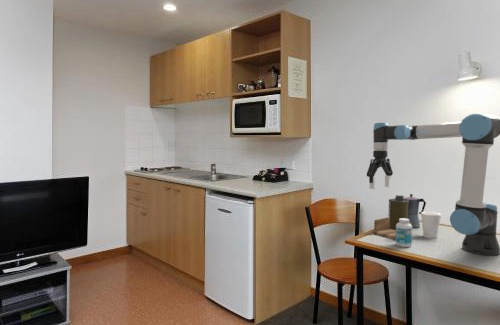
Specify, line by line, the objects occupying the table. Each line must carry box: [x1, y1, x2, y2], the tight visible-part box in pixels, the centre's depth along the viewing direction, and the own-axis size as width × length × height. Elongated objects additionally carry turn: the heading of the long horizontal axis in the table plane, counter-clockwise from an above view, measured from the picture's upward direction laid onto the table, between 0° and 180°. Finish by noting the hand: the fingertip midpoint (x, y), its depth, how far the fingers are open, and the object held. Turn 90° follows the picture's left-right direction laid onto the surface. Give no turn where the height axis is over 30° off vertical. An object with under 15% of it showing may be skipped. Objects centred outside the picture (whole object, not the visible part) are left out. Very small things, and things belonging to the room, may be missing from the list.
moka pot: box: [403, 193, 427, 229], centre depth 207 cm, size 10×15×20 cm, turn 40°
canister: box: [388, 194, 409, 230], centre depth 202 cm, size 11×10×20 cm
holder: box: [373, 216, 412, 241], centre depth 188 cm, size 17×12×8 cm
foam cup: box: [420, 211, 442, 239], centre depth 185 cm, size 10×9×13 cm
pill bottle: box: [395, 218, 413, 248], centre depth 170 cm, size 8×7×14 cm
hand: (379, 187), depth 191 cm, fingers open, 13 cm apart
